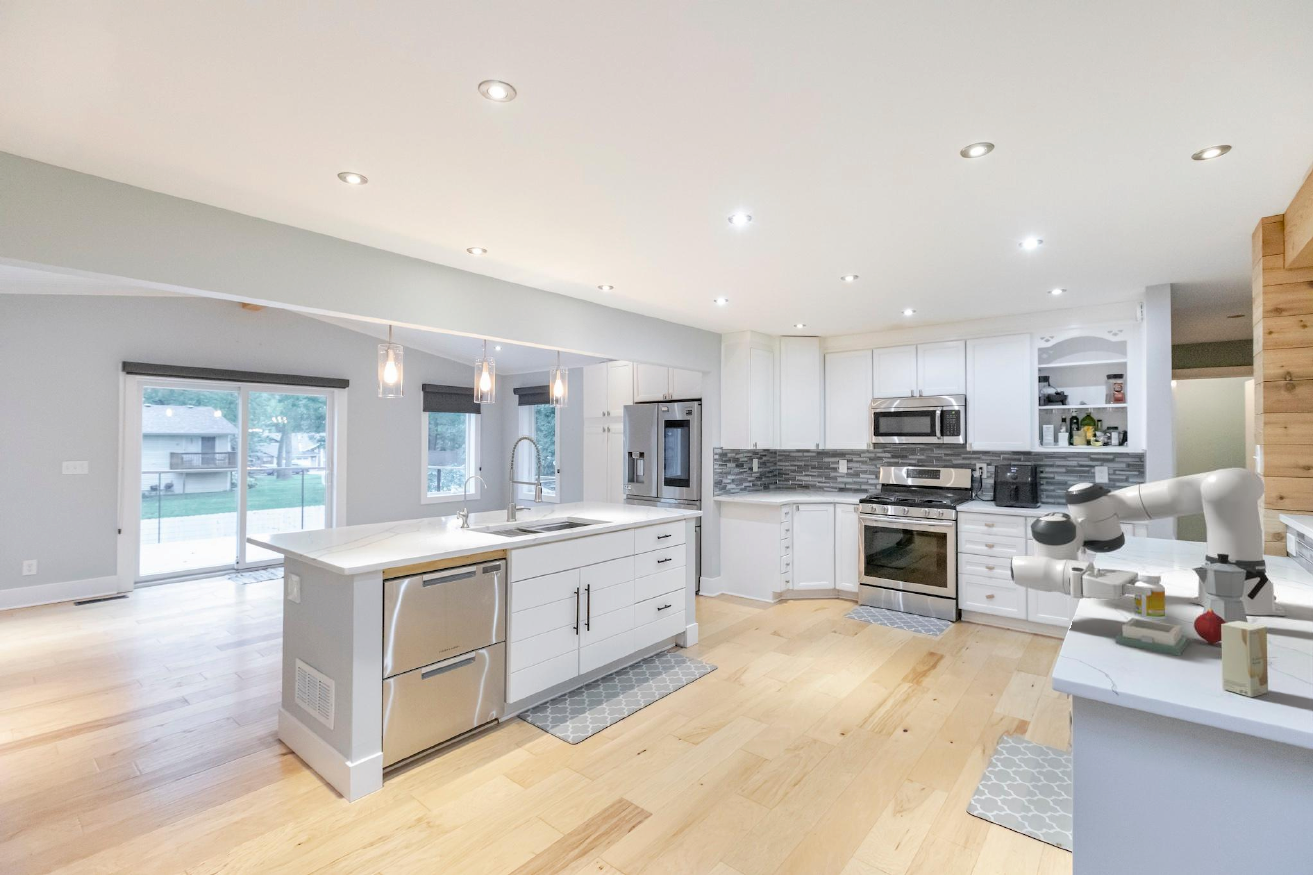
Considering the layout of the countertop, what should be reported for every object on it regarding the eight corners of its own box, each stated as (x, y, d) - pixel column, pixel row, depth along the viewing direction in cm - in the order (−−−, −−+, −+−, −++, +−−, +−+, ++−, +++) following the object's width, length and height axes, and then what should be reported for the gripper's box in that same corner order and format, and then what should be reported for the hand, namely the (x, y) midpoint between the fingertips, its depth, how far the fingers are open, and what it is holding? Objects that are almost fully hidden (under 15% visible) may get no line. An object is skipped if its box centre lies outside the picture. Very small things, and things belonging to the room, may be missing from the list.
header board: (1128, 632, 144) (1128, 615, 144) (1188, 643, 135) (1188, 625, 135) (1115, 643, 136) (1115, 625, 136) (1178, 655, 128) (1178, 637, 128)
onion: (1236, 649, 131) (1235, 613, 132) (1206, 647, 133) (1205, 611, 133) (1217, 640, 137) (1216, 606, 137) (1188, 639, 138) (1187, 605, 138)
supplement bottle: (1170, 617, 135) (1169, 575, 135) (1157, 621, 132) (1157, 577, 132) (1142, 611, 139) (1141, 570, 140) (1130, 614, 137) (1129, 573, 137)
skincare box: (1252, 698, 106) (1250, 630, 106) (1221, 689, 110) (1219, 623, 110) (1270, 692, 108) (1268, 625, 109) (1239, 683, 112) (1237, 619, 113)
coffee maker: (1201, 627, 147) (1199, 555, 147) (1185, 618, 155) (1183, 549, 155) (1280, 634, 141) (1278, 558, 142) (1258, 623, 149) (1256, 552, 150)
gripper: (1095, 585, 152) (1164, 595, 142) (1070, 598, 139) (1145, 611, 129) (1094, 560, 153) (1164, 569, 142) (1069, 572, 139) (1144, 582, 129)
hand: (1154, 589), depth 135 cm, fingers closed on supplement bottle, 5 cm apart
